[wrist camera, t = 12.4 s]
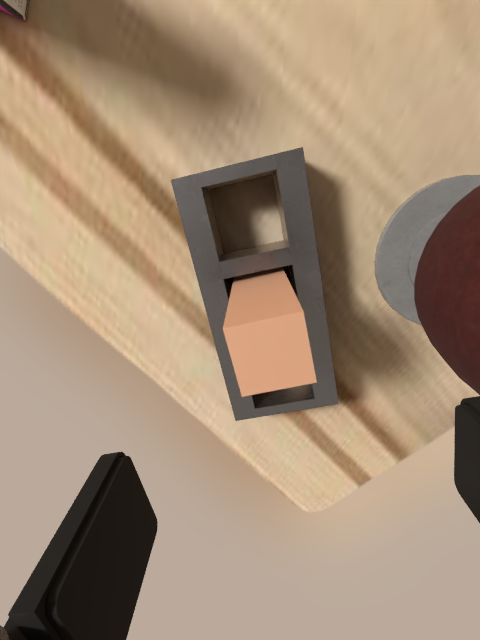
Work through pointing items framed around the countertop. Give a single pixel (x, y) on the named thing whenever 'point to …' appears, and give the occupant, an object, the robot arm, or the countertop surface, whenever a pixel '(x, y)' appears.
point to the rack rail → (290, 252)
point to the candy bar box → (15, 8)
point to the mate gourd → (438, 269)
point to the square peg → (267, 334)
